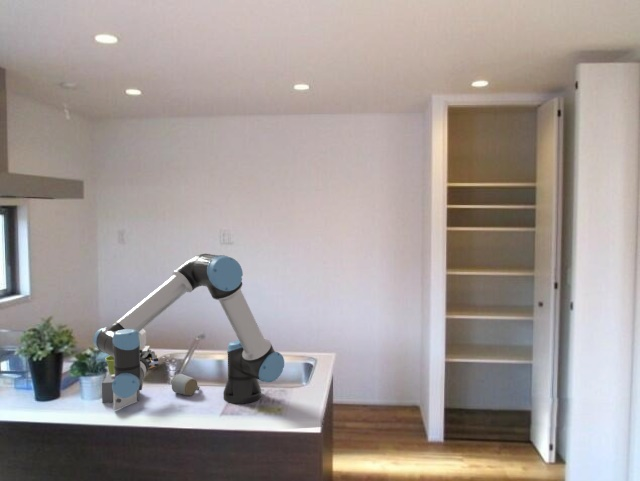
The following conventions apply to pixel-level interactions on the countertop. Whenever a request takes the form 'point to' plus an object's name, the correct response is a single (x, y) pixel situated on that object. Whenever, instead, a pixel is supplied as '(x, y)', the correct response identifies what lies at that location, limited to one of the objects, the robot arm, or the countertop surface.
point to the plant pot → (110, 364)
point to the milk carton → (142, 339)
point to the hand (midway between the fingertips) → (147, 349)
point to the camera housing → (110, 389)
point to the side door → (126, 401)
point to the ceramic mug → (184, 385)
